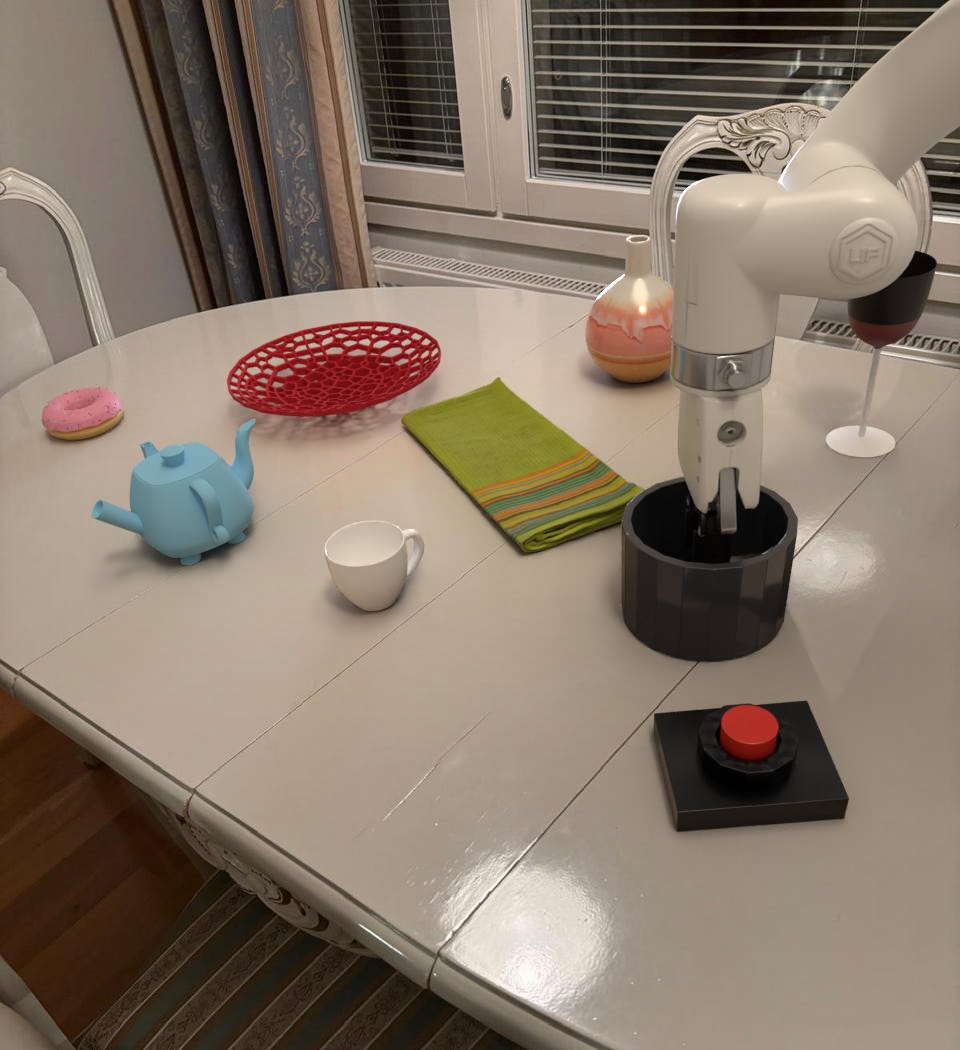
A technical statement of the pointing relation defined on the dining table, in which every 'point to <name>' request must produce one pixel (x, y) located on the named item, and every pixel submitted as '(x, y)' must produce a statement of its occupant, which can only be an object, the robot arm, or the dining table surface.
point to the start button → (748, 732)
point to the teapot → (187, 498)
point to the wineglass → (879, 326)
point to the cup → (372, 562)
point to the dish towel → (521, 466)
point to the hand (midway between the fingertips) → (706, 555)
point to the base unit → (747, 771)
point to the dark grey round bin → (704, 577)
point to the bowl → (334, 371)
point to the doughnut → (82, 413)
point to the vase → (633, 320)
